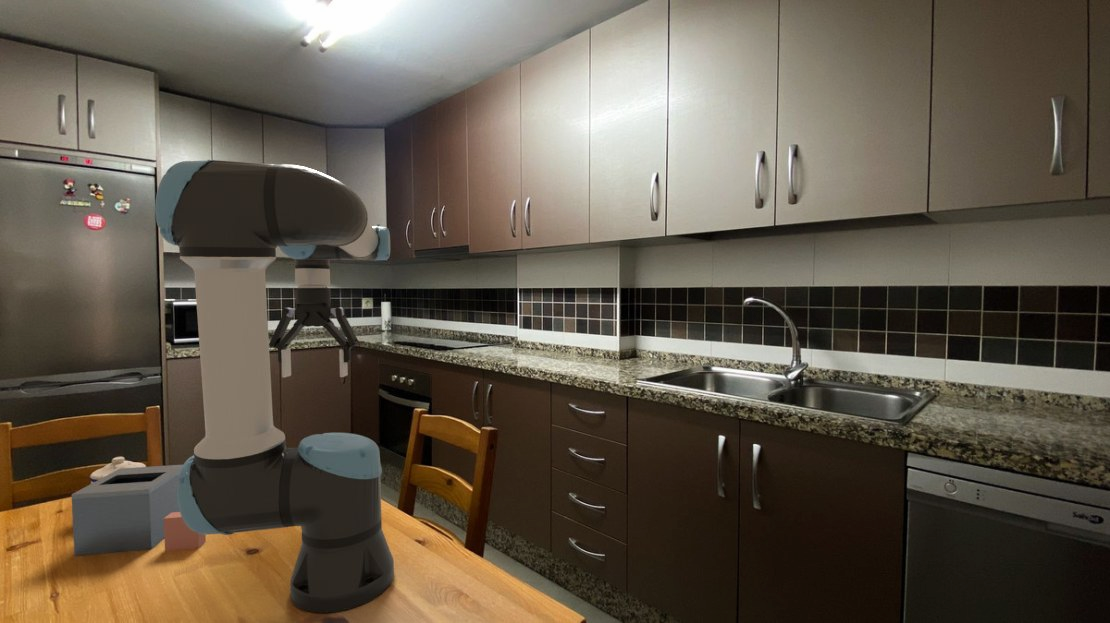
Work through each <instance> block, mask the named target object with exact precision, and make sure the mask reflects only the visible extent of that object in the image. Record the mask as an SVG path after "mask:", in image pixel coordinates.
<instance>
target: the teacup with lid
mask: <svg viewBox="0 0 1110 623" xmlns="http://www.w3.org/2000/svg"><path fill="white" fill-rule="evenodd" d="M136 467H147V465H146V464H144V463H142V462H134V461H130V460H125V457H124V456H116V457H114V458H112V459H111V463H108V464H106V465H105V466H103V467H102V468H98V469H96V470H95V471H93V472H92V473H91V474H90V475H89V481H90V484H92V483H94V482H96V481H98V480H99V479H101V478H103V477H105V476H107V475H109V474H111V473H113V472H114V471H116V470H118V469H120V468H136Z"/></svg>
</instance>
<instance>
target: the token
mask: <svg viewBox="0 0 1110 623" xmlns="http://www.w3.org/2000/svg"><path fill="white" fill-rule="evenodd" d="M164 537H165V538H164V551H165V552H169V551H183V550H184V551H185V550H193V549H194V550H195V549H200V548H201V547H202V546H203V545H204V544H205V543H206V540H207V538H206V535H203V534H198V533H197V532H195V531H193V530H191V529H190V528H189V527H188V526H187V525H186V524H185V522H184V520H183V518H182V516H181V513H180V512H173V513H170V514H169V515H168V516H166V517H165V518H164Z"/></svg>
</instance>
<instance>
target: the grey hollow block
mask: <svg viewBox="0 0 1110 623" xmlns="http://www.w3.org/2000/svg"><path fill="white" fill-rule="evenodd" d="M183 465H184V464H171V465H154V466H153V465H152V466H146V467H136V468H120V469H118V470H116V471H114V472H113V473H111V474H109V475H107V476H105V477H103V478H101V479H99V480H98V481H96V482H94V483H92V484H91V483H90V484H88V485H86V486H84V487H83V488H81V489H79V490H77V491H75V492H73V493H72V494H71V512H72V515H71V516H72V531H73V532H72V534H73V535H72V536H73V551H74V553H73V554H74V557H77V556H88V555H98V554H99V555H100V554H110V553H121V552H123V553H124V552H134V551H145V550H152V549H154V548H155V547H156V546H157V545H159V543H160V542H162V541H163V540H165V537H164V518H165V517H166V516H168V515H169V514H170V513H173V512H180V510H179V506H178V499H177V486H178V485H179V484H180V480H179V474H180V471H181V468H182V466H183Z"/></svg>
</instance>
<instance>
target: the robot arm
mask: <svg viewBox="0 0 1110 623" xmlns="http://www.w3.org/2000/svg"><path fill="white" fill-rule="evenodd" d="M154 208H155V211H154V212H155V219H156V220H155V221H156V225H157V227H159V228H160V229H159V233H160V235H161V237H162V238H163V239H164V241H165V242H167V243H168V244H170V245H173V246H177V247H178V249H179V250H178V251H179V252H178V253H179V260H181V261H182V262H184V263H185V264H186V265H188V267H190V268H191V269H192V270H193V272H194V283H195V284H194V285H195V287H194V288H195V300H196V313H197V316H196V317H197V327H198V328H197V330H198V331H197V332H198V343H199V356H200V357H199V358H200V372H201V373H200V374H201V385H202V398H203V400H202V401H203V411H204V412H203V413H204V414H203V416H204V429H205V436H204V437H203V438H202V439H201V440H200V441H199V442H198V443H197V444H196V445H194V446H195V447H194V449H193V455H191V456H190V457H189V458H187V459H186V461H185V462H184V463H183V464H182V465H183V466H182V468H181V471H180V474H179V480H180V484H179V485H178V486H177V499H178V506H179V510H180V513H181V516H182V518H183V520H184V522H185V524H186V525H187V526H188V527H189V528H190V529H191V530H193V531H195V532H197V533H198V534H203V535H224V536H228V535H229V536H230V535H233V534H235V533H236V534H237V533H247V532H254V531H262V530H263V531H264V530H265V531H266V530H274V529H281V528H291V527H292V528H293V527H300V528H301V546H300V548H299V553H298V554H297V558H296V561H295V564H294V568H293V570H292V571H293V572H292V574H291V578H290V585H289V586H290V589H289V590H290V601H291V602H292V604H293V605H294V606H295V607H297V608H299V609H300V610H303V611H305V612H311V613H321V614H322V613H324V614H325V613H334V612H335V613H336V612H341V611H346V610H349V609H353V608H357V607H359V606H362V605H363V604H367V603H368V602H370V601H372V600H374V599H376V598H377V597H378V596H380V595H381V594H383V593H384V592H385V591H386V590H387V589H388V588H389V587H390V585H391V583H392V582H393V580H394V576H395V564H394V557H393V555H392V552H391V549H390V547H389V544H388V542H387V539H386V537H385V534H384V531H383V528H382V527H383V525H382V494H381V490H382V487H381V479H382V478H381V475H382V472H383V469H382V465H381V457H380V456H381V455H380V448H379V445H377V443H376V442H375V441H374V440H372V439H371V438H369V437H366V436H364V435H361V434H357V433H349V432H323V433H322V434H321V433H317V434H316V433H315V434H311V435H309V436H306V437H304V438H303V439H301V440H300V441H299V445H298V446H297V447H287V446H286V435H285V433H284V432H283V431H282V430H281V429H279V428H277V427H275V425H274V418H273V417H274V415H273V397H272V376H271V359H270V347H271V348H275V349H277V358H278V359H277V360H278V363H279V364H281V378H287V377H291V376H292V362H291V361H292V357H291V356H292V354H291V348H289V347H288V346H289V345H290V344H291V343H292V342H293V341H294V340H295V338H296V337H297V336H298V334H299V333H300V332H301V331H302V329H303V328H305V327H307V328H309V327H310V328H311V327H315V328H316V327H319V328H320V327H323V328H324V329H325V330H326V331H327V332H328V333H329V334H330V335H331V336H332V338H334V340H335V341H336V342H337V343H338V345H339V346H340V347H341V349H339V351H338V352H339V356H338V358H339V360H338V361H339V377H340V378H344V377H346V376H348V375H349V374H348V373H349V372H348V370H349V369H348V366H349V365H348V363H350V362H351V361H352V348H354V347H356V346H358V345H360V342H359V340H358V338H357V336H356V334H355V331H354V329H353V328H352V326H351V324H350V322H349V320H348V318H347V316H346V310H345V308H344V307H343V306H340V307H336V308H332V306H331V301H332V298H331V297H332V296H331V295H332V294H331V289H330V288H328V287H329V286H331V273H330V272H331V268H330V267H331V266H330V261H337V260H338V261H339V260H340V261H341V260H343V261H345V260H346V261H373V262H376V261H386V260H388V259H389V258H390V256H391V235H390V234H391V233H390V230H389V228H387V227H386V226H378V225H371V223H370V221H369V217H368V210H367V208H366V205H365V203H364V202H363V200H362V199H361V197H360V196H359V195H358V194H357V192H355V190H353V189H352V188H350V187H349V186H348V185H346V184H344V183H342V182H341V181H340V180H337V179H335V177H332V176H330V175H328V174H325V173H323V172H321V171H317V170H315V169H312V168H309V167H307V166H302V165H296V164H287V163H282V164H278V163H277V164H274V163H261V162H260V163H259V162H245V161H233V160H232V161H231V160H219V159H218V160H215V159H207V160H186V161H185V160H184V161H183V160H182V161H179V162H177V163H175V164H173V165H172V166H170V167H169V168H168V169H167V170H166V172H165V173H164V174H163V175H162V178H161V180H160V182H159V185H158V187H157V192H156V197H155V206H154ZM277 247H278V249H280V251H281V252H282V253H283V254H284V255H286V256H287V257H289V258H290V259H293V260H294V285H295V286H297V288H296V289H295V292H294V293H295V305H296V306H295V308H292V307H283V308H282V309H281V318H280V320H279V322H278V323H277V326H276V328H275V331H274V332H273V334H272V336H271V339H270V340H269V320H268V304H267V303H268V302H267V300H268V299H267V282H266V271H267V268H268V267H269V266H271V264H272V263H274V262H275V261H276V260H277V254H276V252H277V251H276V250H277V249H276V248H277ZM332 315H333V316H334V317H335V318H336V320H337V322H338V324H339V326H340V328H341V330H342V332H343V333H342V332H341V331H340V330H339V328H338V327H337V326H336V325H335V323H334V322H333V321H332V320H331V316H332ZM294 316H296V317H297V319H296V321H295V322H294V323H293V325H292V327H290V329H289V330H288V332H287V329H288V326H289V325H290V323H291V320H292V318H293V317H294ZM286 332H287V333H286Z"/></svg>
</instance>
